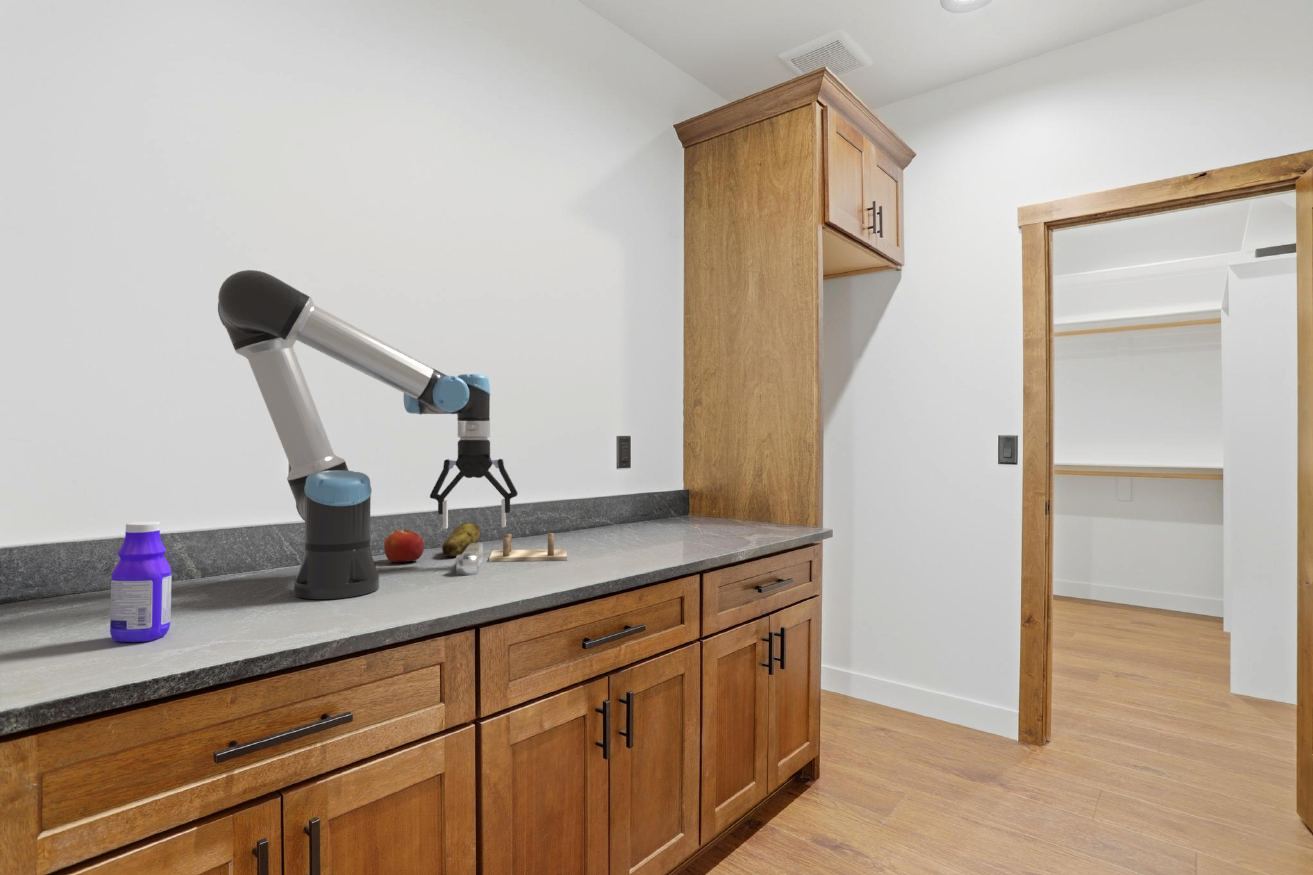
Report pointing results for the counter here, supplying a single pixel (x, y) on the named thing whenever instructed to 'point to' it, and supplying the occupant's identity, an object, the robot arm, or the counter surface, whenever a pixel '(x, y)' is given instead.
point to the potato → (461, 539)
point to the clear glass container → (469, 559)
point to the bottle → (141, 586)
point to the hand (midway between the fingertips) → (474, 527)
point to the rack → (527, 552)
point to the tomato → (403, 546)
